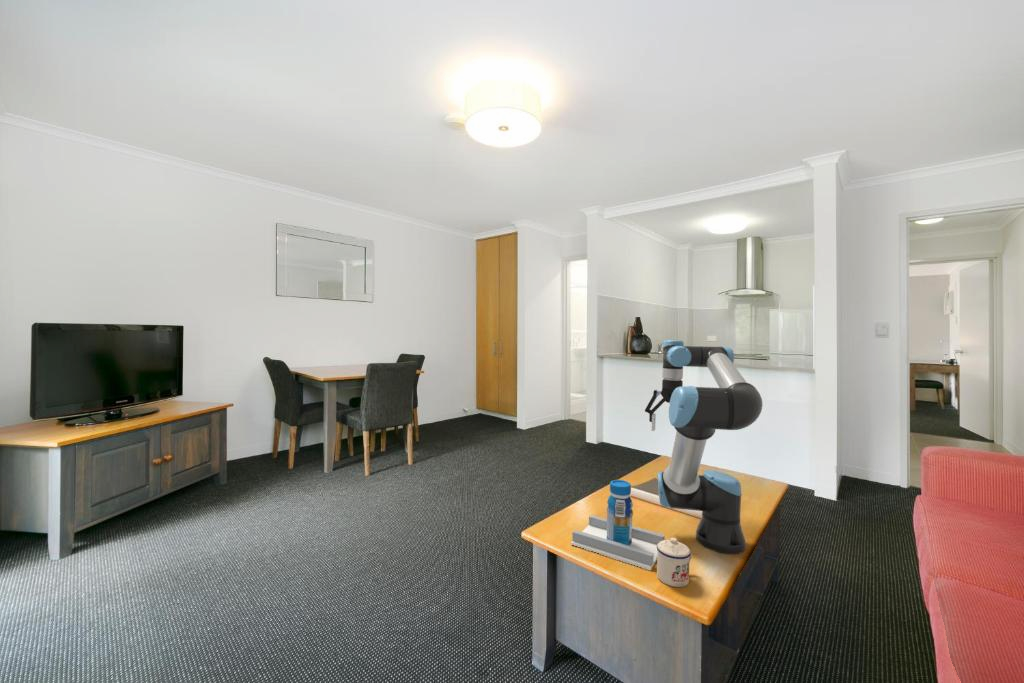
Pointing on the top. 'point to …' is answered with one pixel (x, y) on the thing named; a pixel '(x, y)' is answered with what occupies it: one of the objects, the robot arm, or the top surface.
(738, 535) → the robot arm
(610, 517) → the beverage bottle
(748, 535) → the top surface
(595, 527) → the tray
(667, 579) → the teacup with lid
